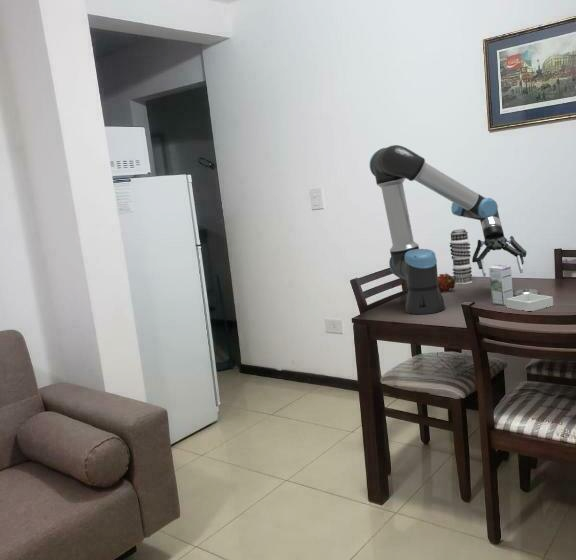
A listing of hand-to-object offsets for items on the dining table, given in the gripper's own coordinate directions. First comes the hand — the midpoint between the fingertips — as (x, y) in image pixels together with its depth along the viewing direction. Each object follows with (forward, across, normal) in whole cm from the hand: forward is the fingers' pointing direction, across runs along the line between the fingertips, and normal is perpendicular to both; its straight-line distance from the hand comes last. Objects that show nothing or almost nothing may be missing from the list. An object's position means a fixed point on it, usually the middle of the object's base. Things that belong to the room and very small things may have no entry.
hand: (503, 273), depth 215 cm
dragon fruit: (-13, +20, -29) cm, 38 cm away
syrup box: (+11, +2, -4) cm, 12 cm away
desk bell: (+6, -8, -9) cm, 14 cm away
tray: (+18, -6, +2) cm, 19 cm away
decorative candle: (-24, +10, -40) cm, 47 cm away
